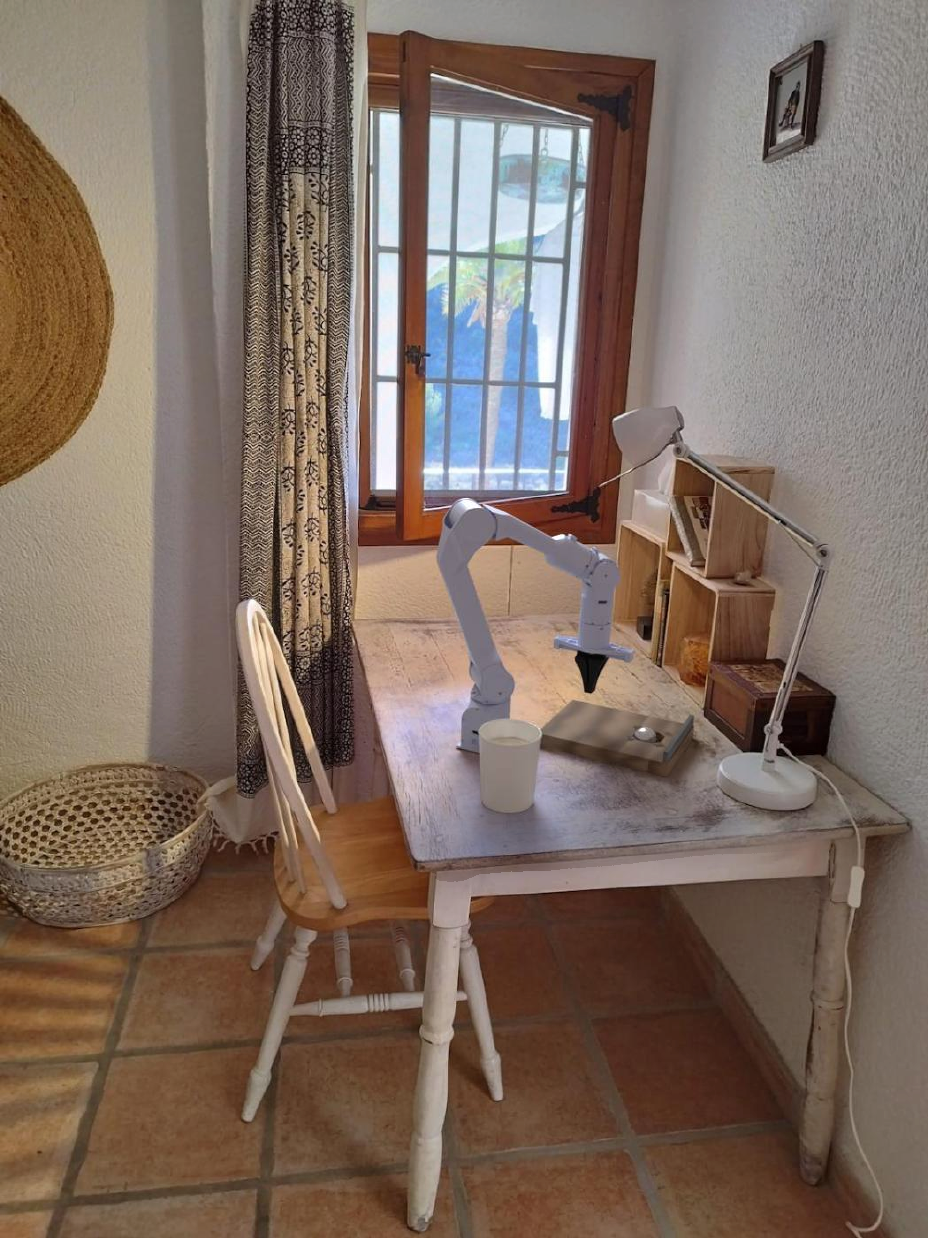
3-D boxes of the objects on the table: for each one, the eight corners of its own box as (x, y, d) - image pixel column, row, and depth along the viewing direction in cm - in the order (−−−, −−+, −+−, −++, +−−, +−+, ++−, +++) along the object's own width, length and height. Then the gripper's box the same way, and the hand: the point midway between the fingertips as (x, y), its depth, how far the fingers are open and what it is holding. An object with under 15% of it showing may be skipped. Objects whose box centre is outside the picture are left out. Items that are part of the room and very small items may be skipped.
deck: (535, 745, 161) (537, 722, 160) (571, 711, 176) (573, 690, 175) (666, 777, 150) (669, 752, 149) (692, 738, 166) (695, 715, 164)
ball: (646, 757, 159) (656, 740, 157) (627, 745, 160) (636, 728, 158) (653, 748, 162) (663, 731, 161) (634, 736, 164) (643, 719, 162)
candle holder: (550, 800, 142) (554, 731, 138) (511, 823, 135) (515, 751, 131) (502, 780, 148) (505, 713, 144) (463, 800, 141) (465, 731, 137)
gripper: (641, 621, 159) (634, 692, 163) (565, 608, 166) (560, 677, 170) (629, 632, 153) (622, 705, 157) (551, 618, 160) (546, 688, 164)
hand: (589, 691), depth 163 cm, fingers closed
